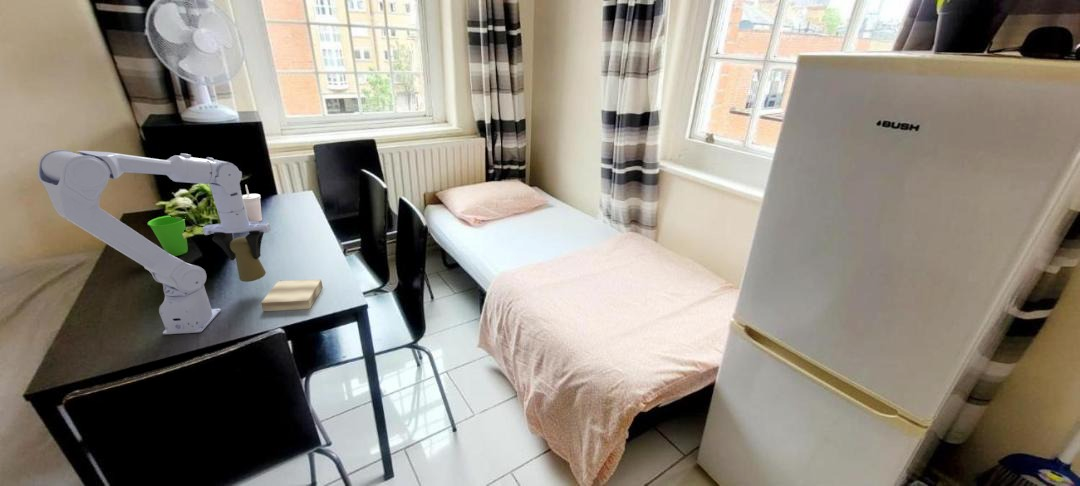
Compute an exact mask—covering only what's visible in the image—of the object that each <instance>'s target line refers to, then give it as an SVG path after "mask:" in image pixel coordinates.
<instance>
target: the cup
mask: <svg viewBox="0 0 1080 486" xmlns="http://www.w3.org/2000/svg"><path fill="white" fill-rule="evenodd" d="M185 220H186V219H176V218H174V217H171V216H170V215H163V216H158V217H156V218H153V219H151V220H149V221H148V222H147V226H149V227H150V228H151V230H152V231H153V234H154V235H155V236H156V238H157V240H158V242H159V243H160V245H161V247H162V249H163V250H164V251H166V252H167V253H169V254H171V255H173V256H174V257H177V256H181V255H184V254H186V253H188V249H189V248H188V240H187V239H188V238H187V239H184V238H183V237H182V233H183V232H184V230H185V228H186V222H185Z"/></svg>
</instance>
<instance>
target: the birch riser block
mask: <svg viewBox="0 0 1080 486" xmlns="http://www.w3.org/2000/svg"><path fill="white" fill-rule="evenodd" d="M322 289H323V283H322V279H320V278H319V279H301V280H300V279H297V280H295V279H294V280H278V281H277V282H276V283H275V284H274V286H273V287H272V288H271V289H270V290H269V292H268V293H267V294H266V296H264V297H263V299H262V301H261V302H260V306H261V308H262V311H263V312H273V311H274V312H275V311H276V312H277V311H278V312H279V311H293V310H311V308H312V306H313V305H314V303H315V301H316V299H317V298H318V296H319V295H320V292H321V291H322Z"/></svg>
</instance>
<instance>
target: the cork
mask: <svg viewBox="0 0 1080 486" xmlns="http://www.w3.org/2000/svg"><path fill="white" fill-rule="evenodd" d="M245 237H246V236H239V237H236V238H233V240H232V241H231V242H230V249H231V250H232V251H233V252H234V253H235V257H236V258H235V261H236V262H235V263H236V266H237V273H238V278H239V280H240V281H241V282H246V283H247V282H248V283H249V282H254V281H257V280H260V279H262V278H263V277H265V276H266V274H267V271H266V270H265V268H264V266H263V264H262V263H261V261H260V257H259V258H258V259H254V257H253V254H252V250H251V247H250V245H249V243H248V241H247V240H246V238H245Z"/></svg>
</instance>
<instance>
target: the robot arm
mask: <svg viewBox="0 0 1080 486" xmlns="http://www.w3.org/2000/svg"><path fill="white" fill-rule="evenodd" d="M76 152H77V153H76ZM76 152H74V151H70V150H67V149H55V150H51V151H48V152H46V153H44V154H42V156H41V157H40V159H39V162H38V166H37V167H38V168H37V174H36V176H37V179H38V180H39V181H40V183H41V184H42V185H43V186H44V189H45V190H46V193H47V195H48V197H49V200H50V201H51V203H52V207H53V208H54V210H55V212H56V213H57V214H58V215H59V216H60V217H61V218H63V219H65V220H67V221H68V222H70V223H72V224H73V225H74V226H76V227H78V228H80V229H82V230H83V231H85V232H87V233H88V234H90V235H91V236H92V237H94V238H96V239H97V240H100V241H101V242H102V243H105V244H106V245H108V246H110V247H111V248H113V250H115V251H118V252H120V253H121V254H122V255H124V256H126V257H127V258H129V259H131V260H132V261H135V262H136V263H137V264H139V265H140V266H142V267H144V269H145V270H147V271H149V273H150V274H151V275H152V278H153V279H154V280H155V282H157V283H159V284H162V287H163V293H164V300H163V302H162V303H161V304H160V305H159V307H158V312H159V315H160V318H161V321H162V324H163V326H164V328H165V329H164V330H163V332H162V334H163V335H174V334H175V335H178V334H191V333H201V332H203V331H204V330H205V329H206V327H208V326H209V324H210V323H211V322H212V321H213V320H214V319H215V318H216V316H218V315H219V313H220V312H221V311H222V309H221V308H212V306H211V304H210V299H209V296H208V294H207V293H208V292H207V291H206V288H205V283H206V281H207V273H206V270H205V269H204V268H202V267H201V266H199V265H195V264H191V263H188V262H185V261H184V260H183V259H181V258H178V257H177V256H173V255H171V254H169V253H167V252H166V251H165V250H164V248H161V247H160V246H158V245H157V244H156V243H154V242H152V241H151V240H149V239H148V238H146V237H145V236H144V235H143V234H140V233H139V232H137V231H136V230H134V229H133V228H132V227H130V226H128V225H127V224H126V223H123V222H122V221H121V220H119V219H117V218H116V217H114V216H113V215H112V214H110V213H109V212H107V211H105V210H104V209H102V208H101V207H100V198H101V196H102V194H103V191H104V190H105V189H106V186H107V185H108V183H109V180H110V179H112V180H117V179H118V178H120V177H121V176H122V175H123V174H124V173H130V174H146V175H147V174H148V175H149V174H150V175H163V176H167V177H168V178H169V180H172V182H175V183H188V184H189V183H190V184H200V185H201V184H203V185H209V188H210V191H211V195H212V199H213V201H214V205H215V209H216V210H217V214H218V217H219V221H220V223H215V224H213V223H212V224H206V225H204V226H203V227H202V230H203V234H204V236H208V235H211V234H213V236H212V242H214V243H215V244H216V245H217V246H219V248H221V250H223V252H224V253H225V254H226V255H227V257H228V258H229V260H230V261H234V260H236V257H235V253H234V252H233V251H232V250H231V249H230V242H231V241H232V240H234V237H233V234H240V233H241V234H242V233H243V234H245V233H249V234H247V235H246V236H244V237H245V238H246V240H247V241H248V243H249V245H250V247H251V250H252V254H253V257H254V259H258V258H259V259H260V257H261V245H262V240H263V237H264V234H268V233H269V232H271V230H272V229H271V225H270V223H269V222H250V219H249V217H248V214H247V212H246V208H245V205H244V201H243V197H242V196H243V194H242V190H241V189H242V187H241V184H240V183H241V180H242V178H243V172H242V171H241V170H239V168H238V166H236V165H235V164H234V163H232V162H229V161H224V160H218V159H214V158H213V157H209V156H207V157H206V158H202V157H200V158H199V157H193V156H192V154H188V153H182V152H181V153H180V154H179V155H176V154H175V155H173V156H170V157H169V158H167V159H159V158H154V157H152V158H151V157H147V156H146V157H145V156H138V155H131V154H122V153H119V152H118V153H116V152H111V151H110V152H109V151H95V150H93V151H92V150H76Z"/></svg>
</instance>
